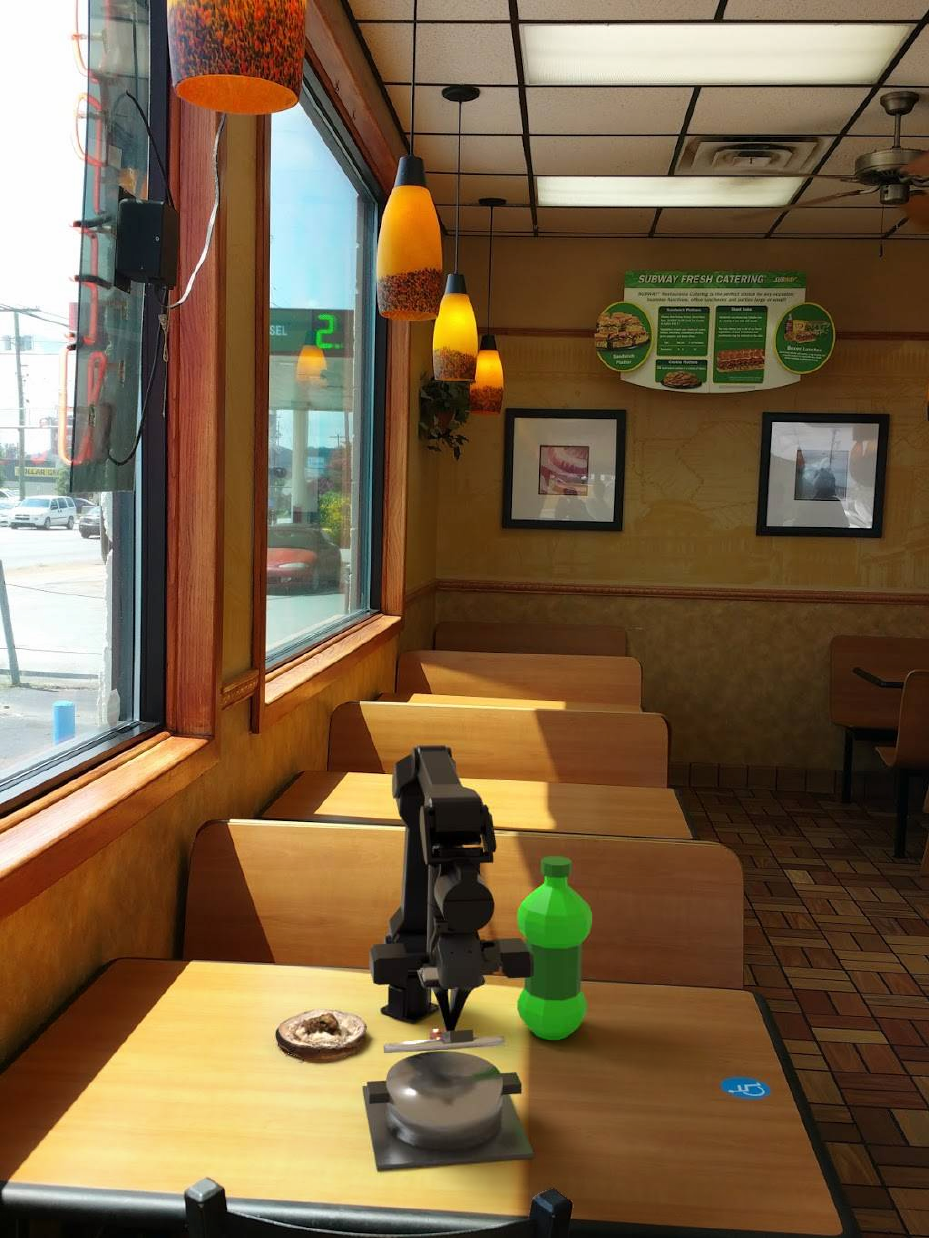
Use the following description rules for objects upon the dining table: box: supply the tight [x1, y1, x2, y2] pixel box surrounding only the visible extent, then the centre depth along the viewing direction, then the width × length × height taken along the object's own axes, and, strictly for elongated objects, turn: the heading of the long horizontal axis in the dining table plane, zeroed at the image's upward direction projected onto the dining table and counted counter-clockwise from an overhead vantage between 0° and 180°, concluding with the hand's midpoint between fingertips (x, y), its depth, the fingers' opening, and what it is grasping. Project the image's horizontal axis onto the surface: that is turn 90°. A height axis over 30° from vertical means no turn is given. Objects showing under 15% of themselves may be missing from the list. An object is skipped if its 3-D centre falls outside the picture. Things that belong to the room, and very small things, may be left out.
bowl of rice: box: [274, 1008, 368, 1064], centre depth 159 cm, size 15×15×4 cm
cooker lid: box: [383, 1028, 506, 1054], centre depth 136 cm, size 20×15×2 cm
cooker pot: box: [362, 1050, 534, 1171], centre depth 139 cm, size 18×18×6 cm
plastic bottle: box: [516, 855, 593, 1041], centre depth 163 cm, size 10×10×25 cm
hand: (449, 1031), depth 135 cm, fingers closed
